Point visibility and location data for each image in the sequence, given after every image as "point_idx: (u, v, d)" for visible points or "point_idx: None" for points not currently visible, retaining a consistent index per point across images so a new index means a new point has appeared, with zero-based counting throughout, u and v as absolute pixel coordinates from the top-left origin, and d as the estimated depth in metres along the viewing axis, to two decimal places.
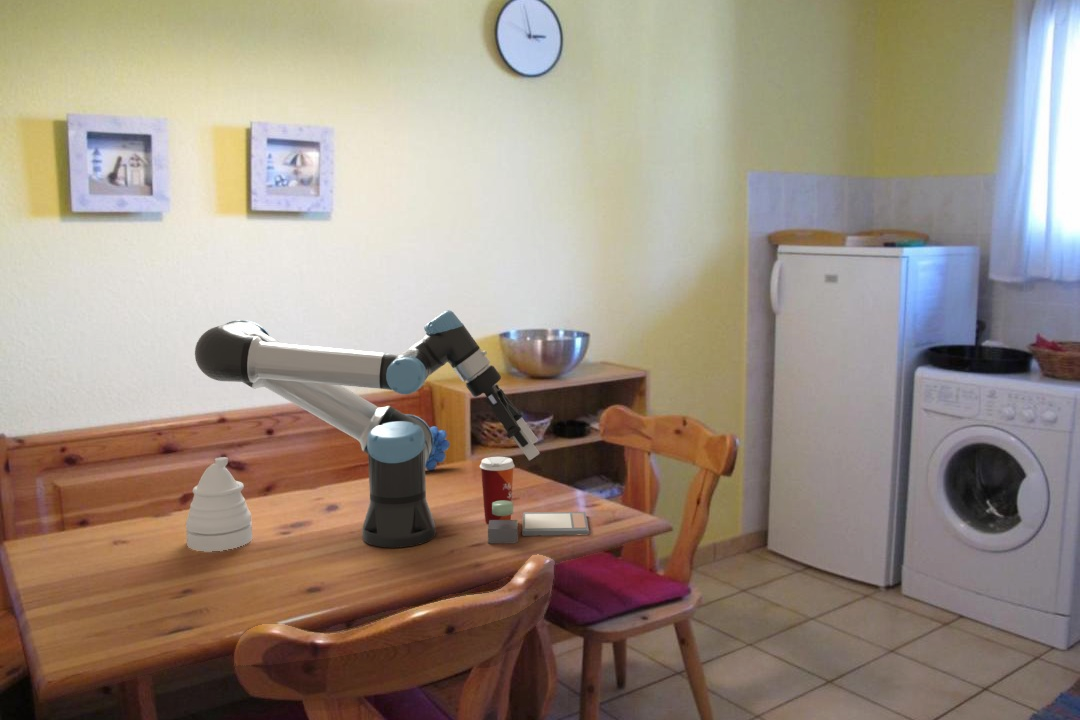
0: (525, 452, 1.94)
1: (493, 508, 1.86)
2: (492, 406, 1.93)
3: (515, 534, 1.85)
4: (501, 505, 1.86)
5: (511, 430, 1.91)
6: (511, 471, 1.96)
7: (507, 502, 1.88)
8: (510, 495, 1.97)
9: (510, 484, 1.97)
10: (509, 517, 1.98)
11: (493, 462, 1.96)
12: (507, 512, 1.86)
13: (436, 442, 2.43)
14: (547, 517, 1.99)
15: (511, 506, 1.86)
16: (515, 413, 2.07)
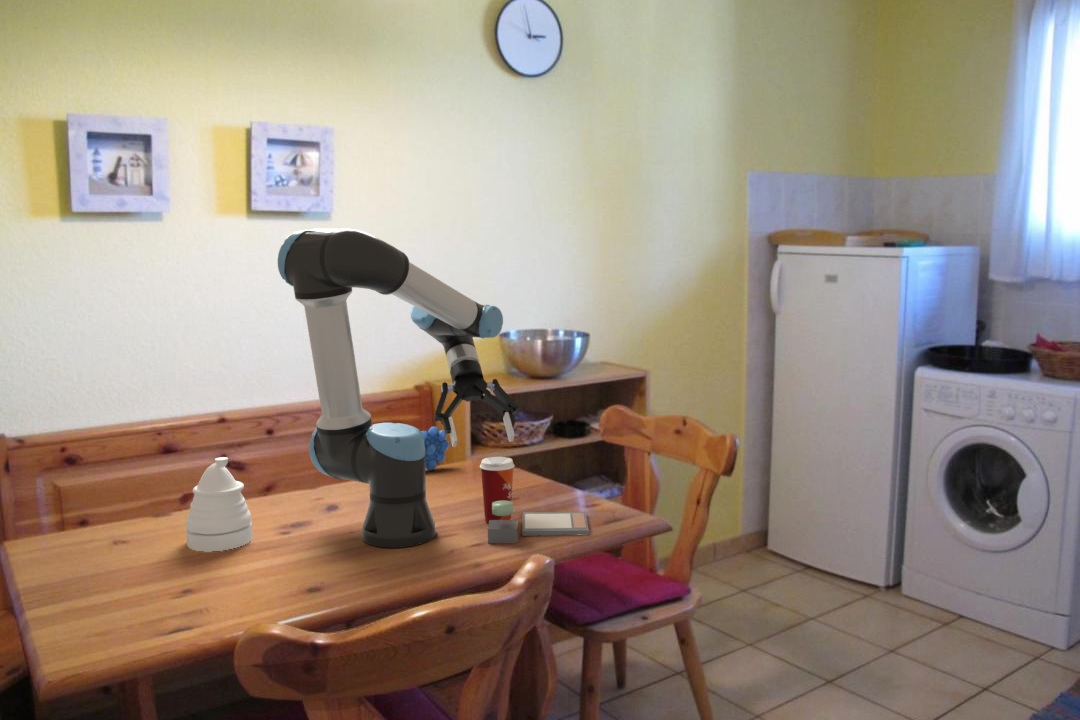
0: None
1: (493, 508, 1.86)
2: None
3: (515, 534, 1.85)
4: (501, 505, 1.86)
5: None
6: (511, 471, 1.96)
7: (507, 502, 1.88)
8: (510, 495, 1.97)
9: (510, 484, 1.97)
10: (509, 517, 1.98)
11: (493, 462, 1.96)
12: (507, 512, 1.86)
13: (436, 442, 2.43)
14: (547, 517, 1.99)
15: (511, 506, 1.86)
16: (450, 415, 2.10)
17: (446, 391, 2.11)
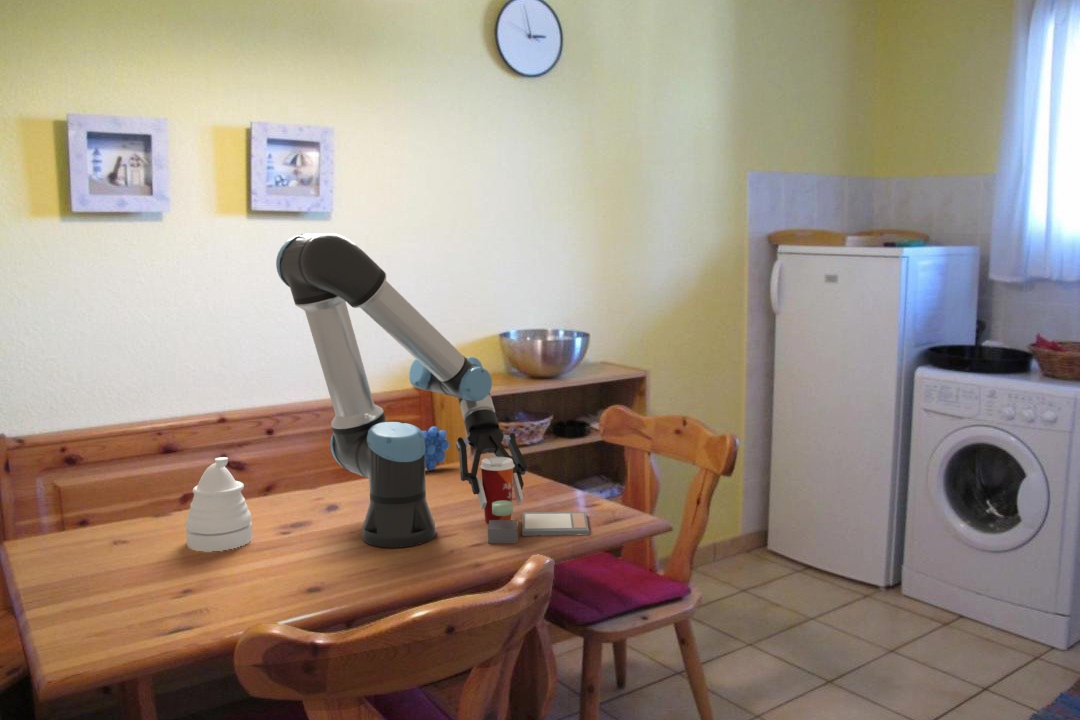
0: None
1: (493, 508, 1.86)
2: None
3: (515, 534, 1.85)
4: (501, 505, 1.86)
5: None
6: (511, 471, 1.96)
7: (507, 502, 1.88)
8: (510, 495, 1.97)
9: (510, 484, 1.97)
10: (509, 517, 1.98)
11: (493, 462, 1.96)
12: (507, 512, 1.86)
13: (436, 442, 2.43)
14: (547, 517, 1.99)
15: (511, 506, 1.86)
16: None
17: (464, 446, 2.01)
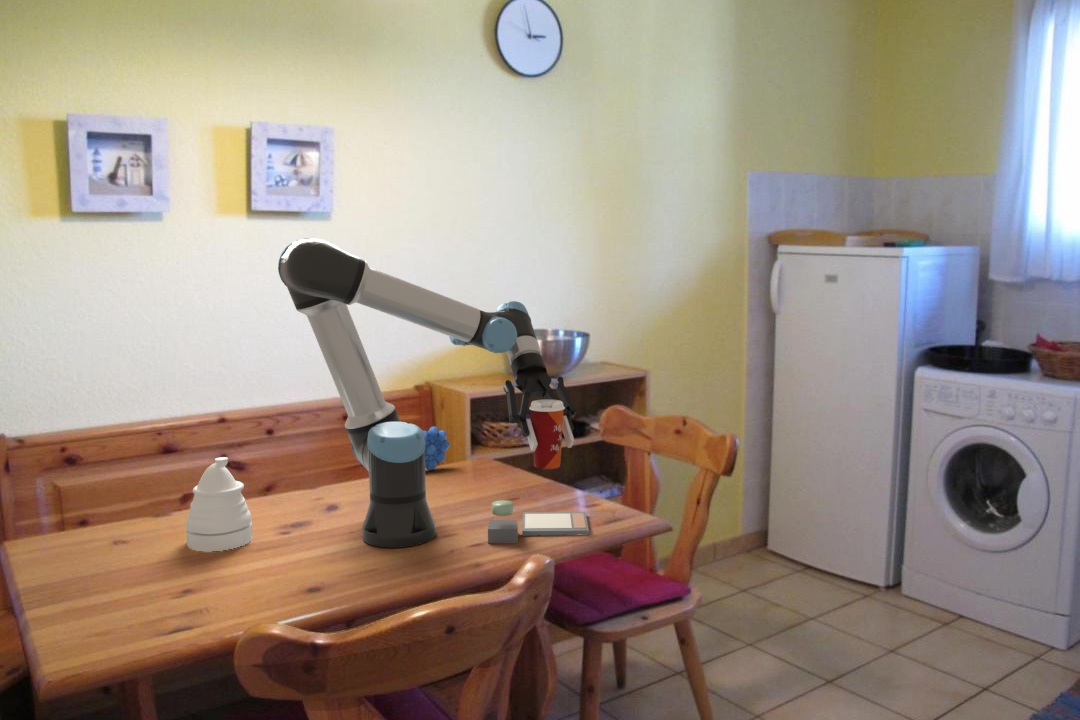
0: None
1: (493, 508, 1.86)
2: None
3: (515, 534, 1.85)
4: (501, 505, 1.86)
5: None
6: (562, 413, 1.92)
7: (507, 502, 1.88)
8: (560, 437, 1.93)
9: (560, 426, 1.92)
10: (559, 460, 1.93)
11: (543, 403, 1.91)
12: (507, 512, 1.86)
13: (436, 442, 2.43)
14: (547, 517, 1.99)
15: (511, 506, 1.86)
16: None
17: (513, 389, 1.96)
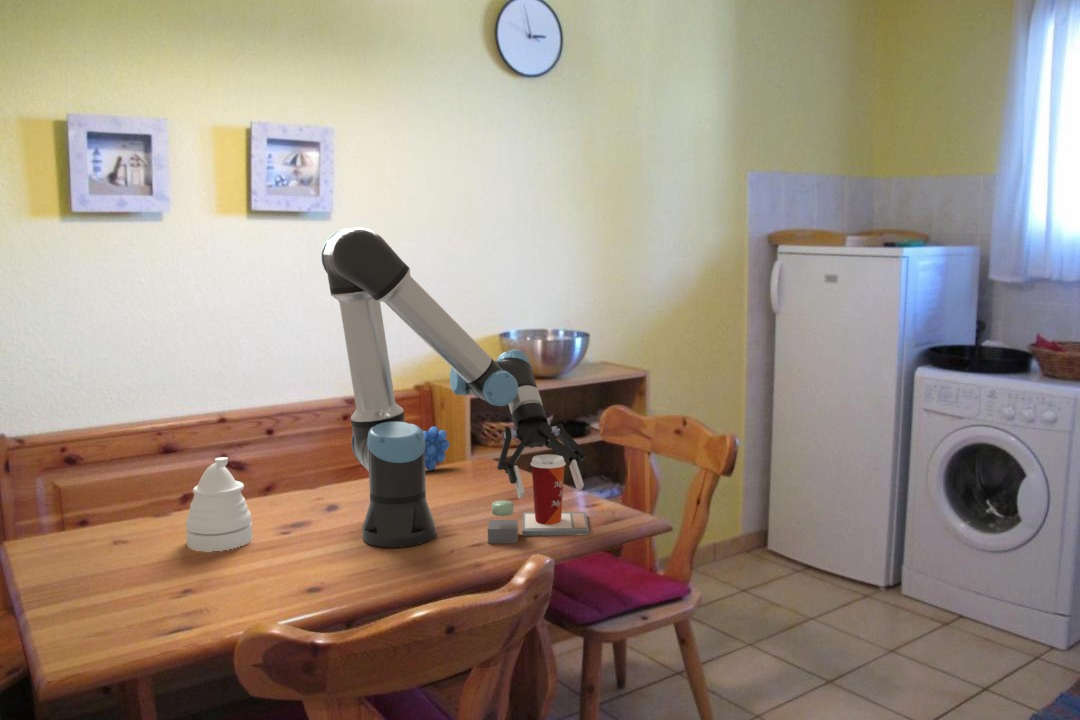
0: None
1: (493, 508, 1.86)
2: None
3: (515, 534, 1.85)
4: (501, 505, 1.86)
5: None
6: (562, 469, 1.93)
7: (507, 502, 1.88)
8: (561, 493, 1.94)
9: (561, 482, 1.94)
10: (560, 515, 1.95)
11: (544, 460, 1.93)
12: (507, 512, 1.86)
13: (436, 442, 2.43)
14: None
15: (511, 506, 1.86)
16: None
17: (510, 437, 1.98)
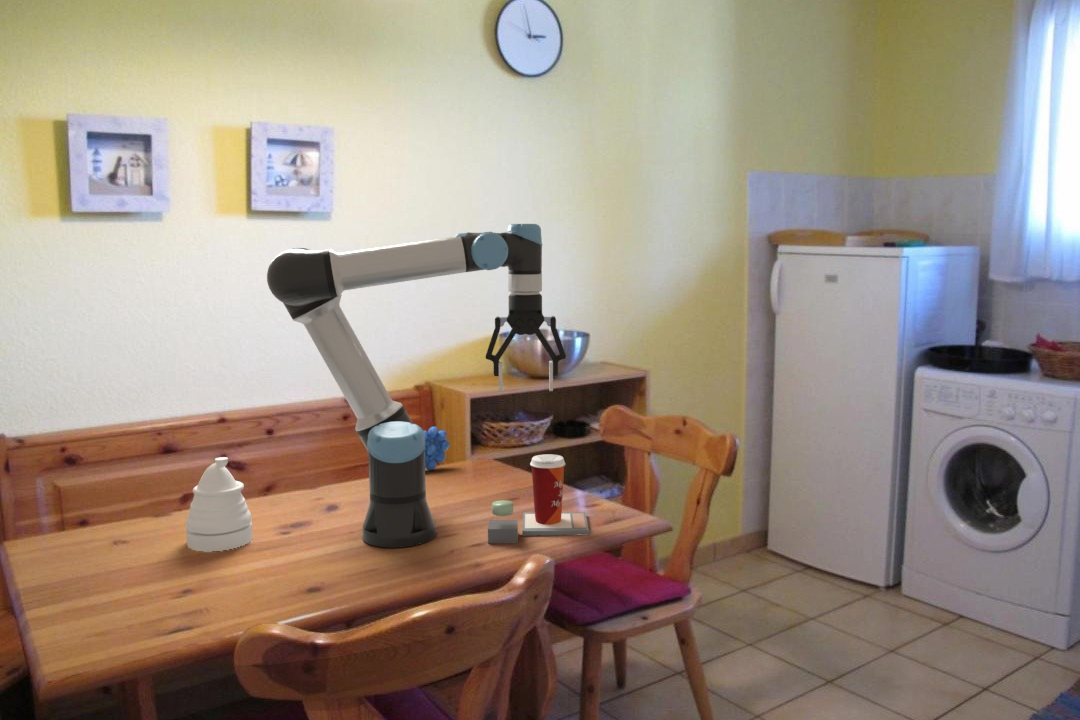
0: (552, 382, 2.04)
1: (493, 508, 1.86)
2: (555, 326, 2.02)
3: (515, 534, 1.85)
4: (501, 505, 1.86)
5: None
6: (562, 469, 1.93)
7: (507, 502, 1.88)
8: (561, 493, 1.94)
9: (561, 482, 1.94)
10: (560, 515, 1.95)
11: (544, 460, 1.93)
12: (507, 512, 1.86)
13: (436, 442, 2.43)
14: None
15: (511, 506, 1.86)
16: None
17: (498, 329, 2.02)
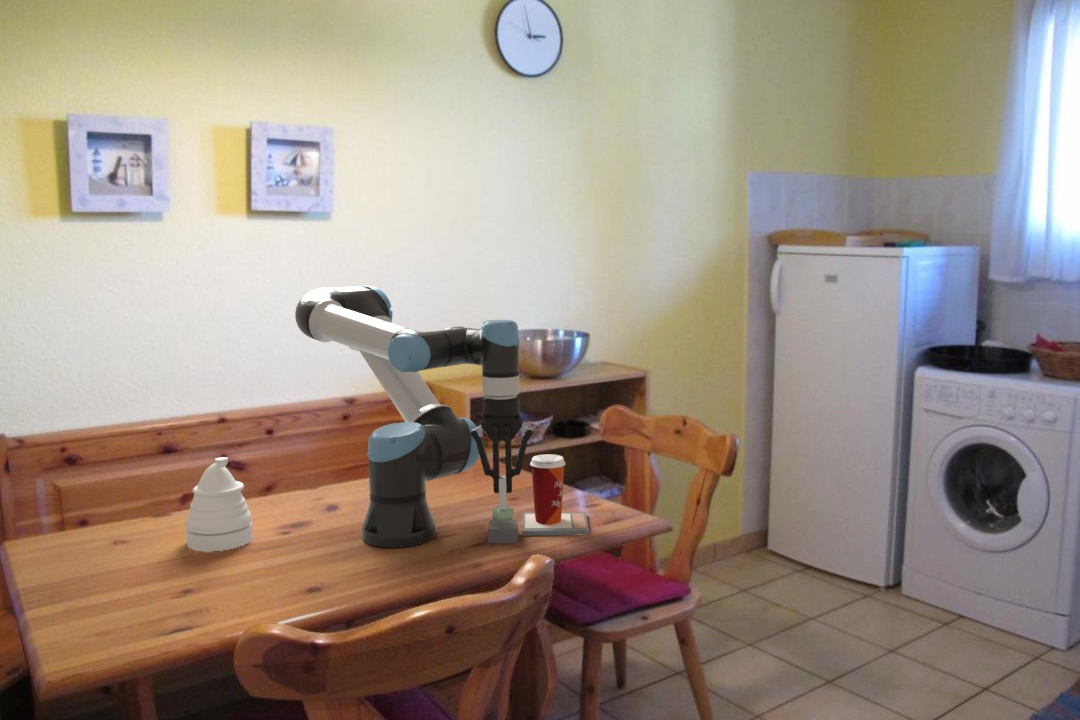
0: (506, 500, 1.86)
1: (493, 513, 1.87)
2: (527, 440, 1.85)
3: (515, 534, 1.85)
4: (501, 510, 1.86)
5: None
6: (562, 469, 1.93)
7: (508, 507, 1.88)
8: (561, 493, 1.94)
9: (561, 482, 1.94)
10: (560, 515, 1.95)
11: (544, 460, 1.93)
12: (507, 517, 1.86)
13: None
14: None
15: (511, 511, 1.87)
16: None
17: (480, 441, 1.84)
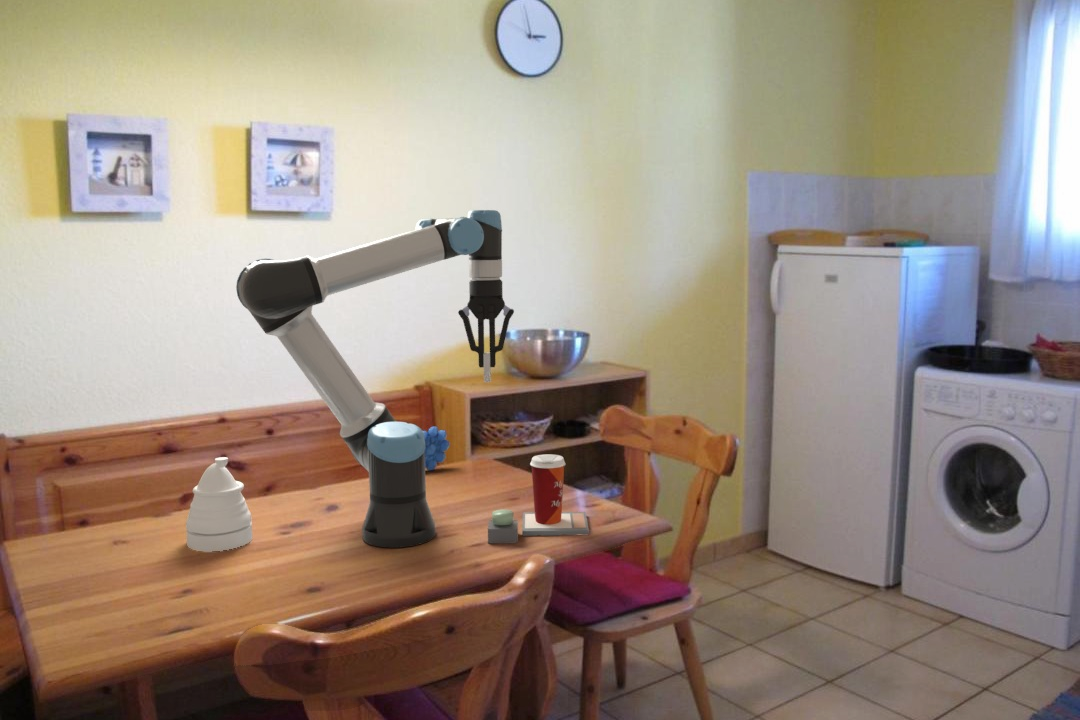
0: (490, 373, 2.07)
1: (493, 517, 1.87)
2: (509, 319, 2.06)
3: (515, 534, 1.85)
4: (501, 514, 1.86)
5: None
6: (562, 469, 1.93)
7: (508, 511, 1.88)
8: (561, 493, 1.94)
9: (561, 482, 1.94)
10: (560, 515, 1.95)
11: (544, 460, 1.93)
12: (507, 521, 1.86)
13: (436, 442, 2.43)
14: None
15: (511, 515, 1.87)
16: None
17: (466, 319, 2.05)
